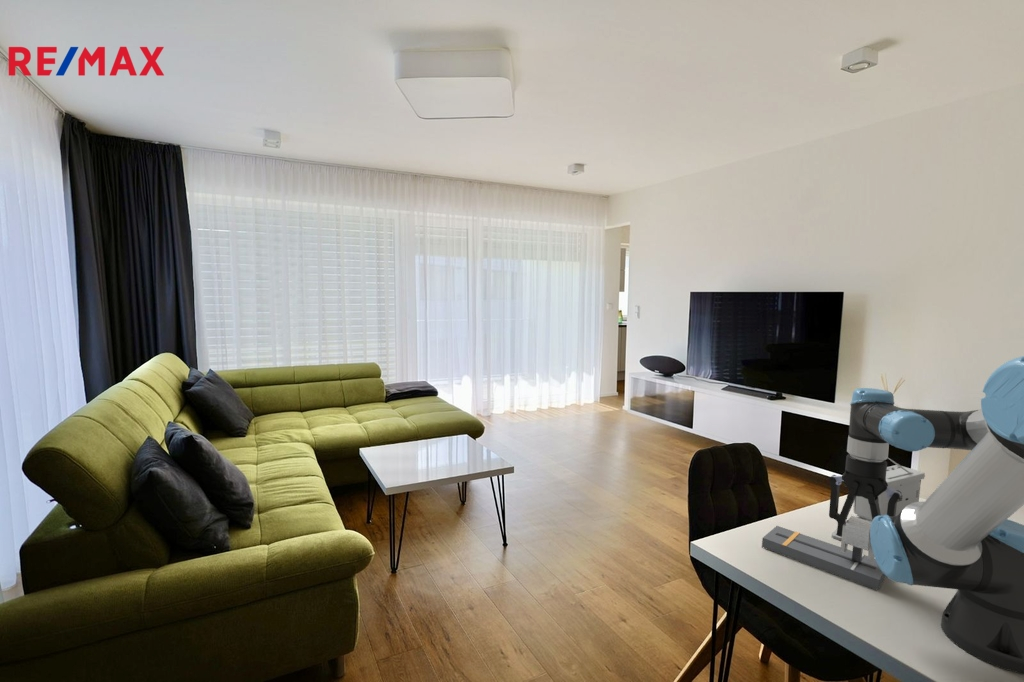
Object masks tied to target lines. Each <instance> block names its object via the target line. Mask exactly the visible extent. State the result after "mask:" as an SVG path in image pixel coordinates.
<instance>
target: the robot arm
mask: <svg viewBox="0 0 1024 682" xmlns="http://www.w3.org/2000/svg"><path fill="white" fill-rule="evenodd" d="M982 393H984V394H985V395H984V397H982V398H981V399H980V407H981V409H976V410H968V411H955V410H954V411H953V410H952V411H949V410H945V411H944V410H937V409H935V410H934V409H933V410H931V409H919V408H918V409H916V408H903V407H898V406H895V400H894V399H895V398H894V395H893V393H892V392H891V391H889V390H884V389H879V388H871V387H869V388H868V387H859V388H856V389H854V390H853V391H852V395H851V396H852V397H851V402H850V403H849V404H850V414H849V425H848V437H847V445H846V452H847V453H848V454H847V455H846V456H845V457H846V458H845V466H844V467H845V470H844V472H843V474H842V475H836V474H832V475H831V476H829V478H828V481H829V484H830V496H829V497H830V499H829V509H828V510H829V511H828V516H829V518H830V519H832V520H835V521H836V522H837V527H836V529H837V535H838V536H841V537H842V541H840V542H841V543H840V547H841V551H840V552H843V553H845V551H846V550H847V549H848V546H849V544H846V543H844V537H845V527H846V520H848V516H849V515H850V514H849V513H850V511H851V509H852V506H853V504H854V500H855V497H856V496H860V497H864V498H866V499H868V502H869V504H870V510H871V515H872V521H871V522H872V523H871V527H870V542H869V550H868V551H867V552H868V553H867V554H868V555H867V556H868V561H869V562H872V561H873V560H874V559H876V562H877V564H878V566H879V568H880V569H881V571H882V572H883V573H884V574H885V575H886V578H888V580H891V581H893V582H895V583H901V584H907V585H909V586H921V587H930V588H931V587H932V588H940V589H942V588H943V589H951V590H956V592H955V593H954V595H953V596H952V598H951V599H950V601H949V603H948V604H947V605H946V607H945V609H944V610H943V612H942V613H941V619H940V620H941V621H940V628H941V630H942V632H943V634H944V635H945V636H946V637H947V638H948V639H949V640H950V641H951V642H952V643H954V644H955V645H956V646H958V647H959V648H961V649H963V650H964V651H965V652H966V653H968V654H970V655H971V656H972V655H973V656H975V657H976V658H977V659H980V660H982V661H984V662H986V663H988V664H990V665H994V666H995V667H999V668H1002V669H1004V670H1008V671H1010V672H1013V673H1018V674H1022V675H1024V524H1021V523H1019V522H1017V521H1013V520H1011V519H1009V518H1011V516H1012V515H1014V514H1015V513H1017V511H1018V510H1020V509H1021V508H1022V507H1024V355H1023V356H1019V357H1016V358H1015V357H1014V358H1013V359H1009V360H1008V361H1006V362H1004V363H1003V364H1001V365H1000V366H999V367H997V368H996V369H995V370H994V371H993V372H992V373H991V375H990V376H989V377H988V379H987V380H986V381H985V384H984V385H983V389H982ZM890 445H891V446H893V447H894V448H896V449H901V450H904V451H907V452H919V451H921V450H924V449H927V448H933V449H952V450H965V451H970V452H968V454H966V456H965V457H964V458H963V459H962V460H961V461H960V463H958V464H957V466H956V467H955V468H954V469H953V470H952V471H951V472H950V474H948V476H947V477H945V478H944V480H943V481H942V482H941V483H940V484H939V486H937V488H936V489H935V490H934V491H933V492H932V493H931V494H930V495H929V496H928V497H927V498H926V500H925V501H919V502H914V503H911V504H909V505H907V506H906V507H905V508H904V509H903V510H902V511H901V512H900V513H899V515H898V516H895V515H896V507H897V500H898V499H899V497H900V496H901V494H902V493H901V492H900V491H898V490H897V491H895V490H893V489H892V488H890V487H888V484H887V482H886V471H887V467H888V461H886V460H888V458H889V450H890V449H889V447H890ZM843 482H844V484H845V486H846V488H847V489H848V490H849V491H848V493H847V496H846V499H845V501H844V504H843V506H842V508H841V511H840V513H839V503H840V492H841V491H840V488H841V485H842V484H843ZM884 491H886V492H887V498H889V502H888V508H887V515H881V513H880V508H879V502H878V501H879V499H878V496H879V495H880V494H881V493H883V492H884Z"/></svg>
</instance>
